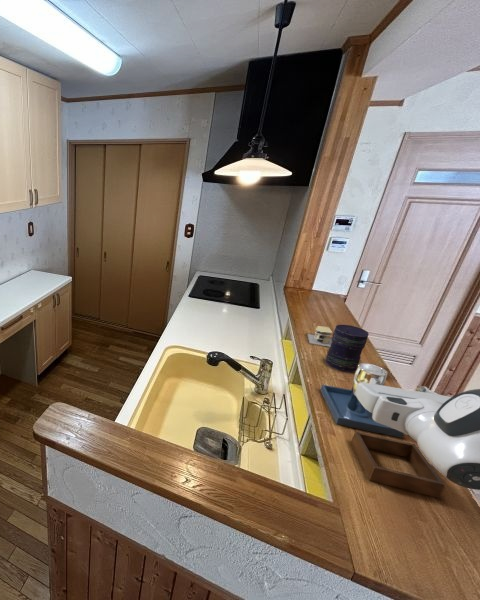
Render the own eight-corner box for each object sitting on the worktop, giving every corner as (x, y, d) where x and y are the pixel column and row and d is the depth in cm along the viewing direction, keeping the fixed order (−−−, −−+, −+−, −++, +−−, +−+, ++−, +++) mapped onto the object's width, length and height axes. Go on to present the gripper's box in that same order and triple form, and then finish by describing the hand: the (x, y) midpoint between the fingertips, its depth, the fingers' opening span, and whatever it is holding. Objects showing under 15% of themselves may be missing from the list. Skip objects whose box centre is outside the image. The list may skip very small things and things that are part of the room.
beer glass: (341, 410, 99) (356, 369, 94) (344, 400, 104) (358, 359, 99) (371, 421, 95) (388, 378, 89) (372, 409, 100) (389, 368, 94)
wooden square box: (409, 456, 84) (415, 444, 82) (438, 497, 73) (445, 485, 72) (350, 442, 88) (354, 431, 87) (369, 480, 77) (374, 467, 76)
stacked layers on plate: (307, 333, 149) (309, 323, 147) (330, 338, 145) (334, 327, 143) (309, 343, 141) (312, 331, 139) (334, 347, 137) (338, 336, 135)
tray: (375, 400, 105) (378, 394, 104) (402, 438, 90) (405, 431, 89) (320, 390, 110) (322, 384, 109) (336, 424, 95) (338, 417, 94)
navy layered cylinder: (333, 356, 131) (344, 322, 125) (362, 368, 122) (374, 332, 117) (319, 362, 126) (329, 327, 121) (347, 374, 118) (360, 338, 113)
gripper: (498, 419, 66) (455, 382, 78) (373, 397, 73) (351, 366, 85) (485, 443, 68) (445, 403, 80) (365, 419, 75) (345, 386, 87)
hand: (396, 384), depth 83 cm, fingers open, 8 cm apart
